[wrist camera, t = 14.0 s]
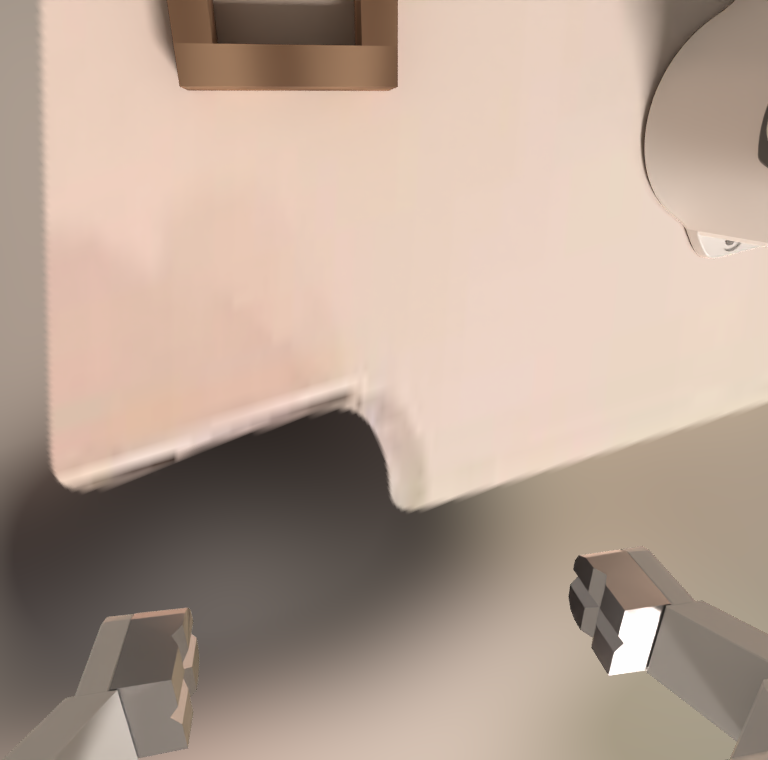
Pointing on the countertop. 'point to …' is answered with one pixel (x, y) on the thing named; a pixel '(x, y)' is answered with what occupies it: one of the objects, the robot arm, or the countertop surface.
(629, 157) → the countertop surface
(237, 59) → the socket block
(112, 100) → the countertop surface
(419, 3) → the countertop surface
